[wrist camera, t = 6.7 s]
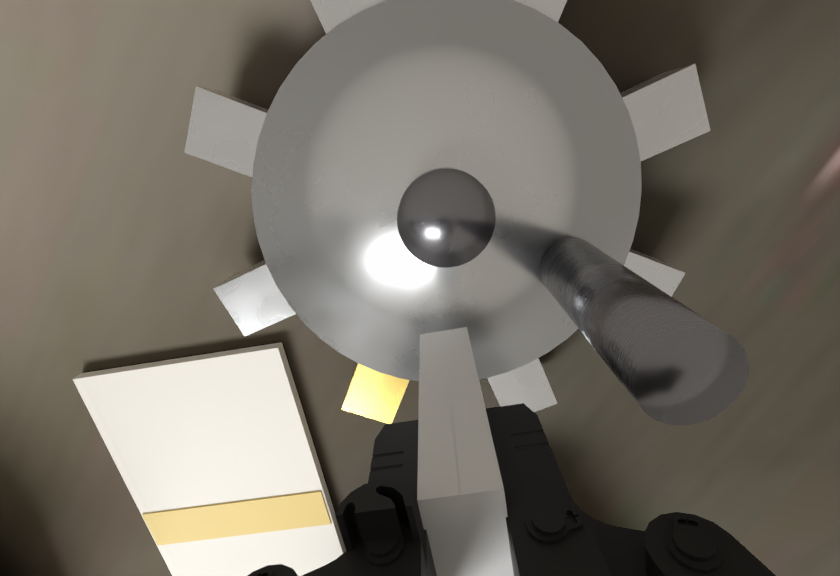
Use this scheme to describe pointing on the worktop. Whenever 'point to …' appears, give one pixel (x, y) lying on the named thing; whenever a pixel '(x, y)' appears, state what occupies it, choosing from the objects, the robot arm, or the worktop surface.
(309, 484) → the marked pad
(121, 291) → the worktop surface
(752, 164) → the worktop surface
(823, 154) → the worktop surface
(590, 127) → the sprocket
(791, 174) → the worktop surface
